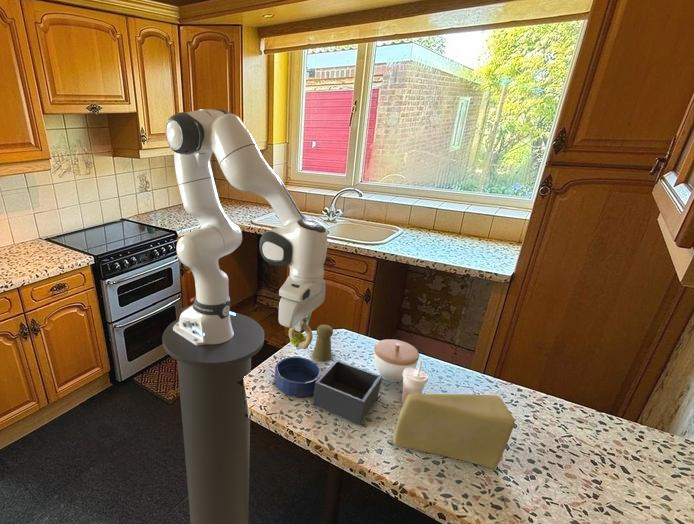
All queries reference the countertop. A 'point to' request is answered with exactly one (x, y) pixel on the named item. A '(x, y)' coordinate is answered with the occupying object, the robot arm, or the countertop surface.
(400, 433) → the cheese
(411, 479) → the countertop surface
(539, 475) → the countertop surface
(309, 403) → the countertop surface
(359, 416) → the bin
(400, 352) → the lidded bowl
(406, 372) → the smoothie
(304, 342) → the rattle
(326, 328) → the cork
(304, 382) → the toy bowl
